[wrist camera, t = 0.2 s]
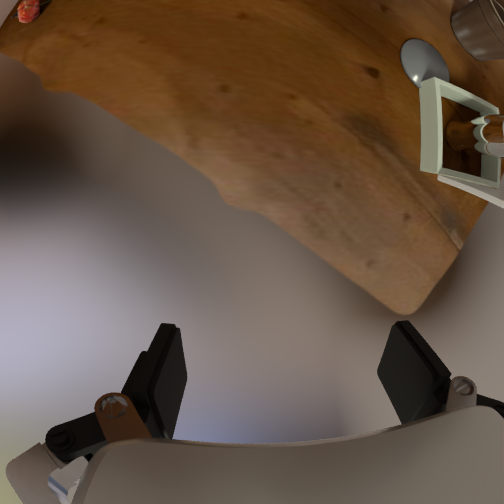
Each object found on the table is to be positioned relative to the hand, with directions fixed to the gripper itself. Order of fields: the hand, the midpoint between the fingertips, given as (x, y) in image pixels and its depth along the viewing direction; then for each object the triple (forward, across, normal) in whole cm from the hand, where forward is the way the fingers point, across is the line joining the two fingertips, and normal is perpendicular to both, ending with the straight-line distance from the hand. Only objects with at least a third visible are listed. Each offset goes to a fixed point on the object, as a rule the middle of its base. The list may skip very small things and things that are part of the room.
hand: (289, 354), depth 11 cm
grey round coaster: (+31, -28, -29) cm, 51 cm away
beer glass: (+31, -35, -17) cm, 50 cm away
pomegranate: (+31, +50, -50) cm, 77 cm away
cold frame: (+31, -35, -17) cm, 50 cm away
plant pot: (+31, -44, -43) cm, 69 cm away
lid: (+18, -36, -8) cm, 41 cm away
